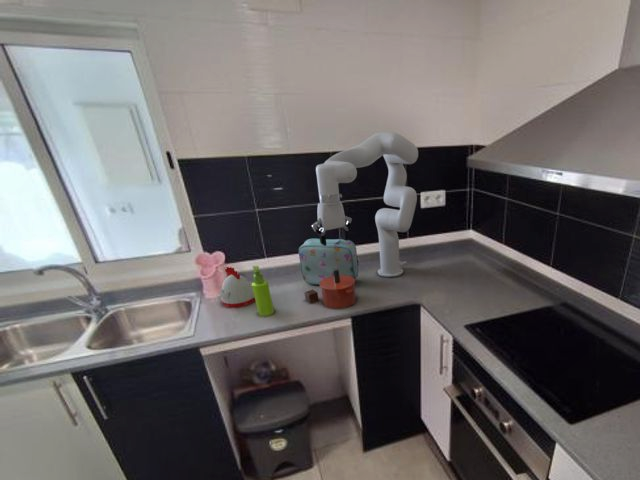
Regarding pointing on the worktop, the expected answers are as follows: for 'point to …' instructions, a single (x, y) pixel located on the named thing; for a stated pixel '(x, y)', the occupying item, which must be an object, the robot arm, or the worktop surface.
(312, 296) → the block
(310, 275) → the lunch box
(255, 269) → the soap dispenser
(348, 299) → the pot
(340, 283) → the lid
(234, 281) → the kitchen timer
